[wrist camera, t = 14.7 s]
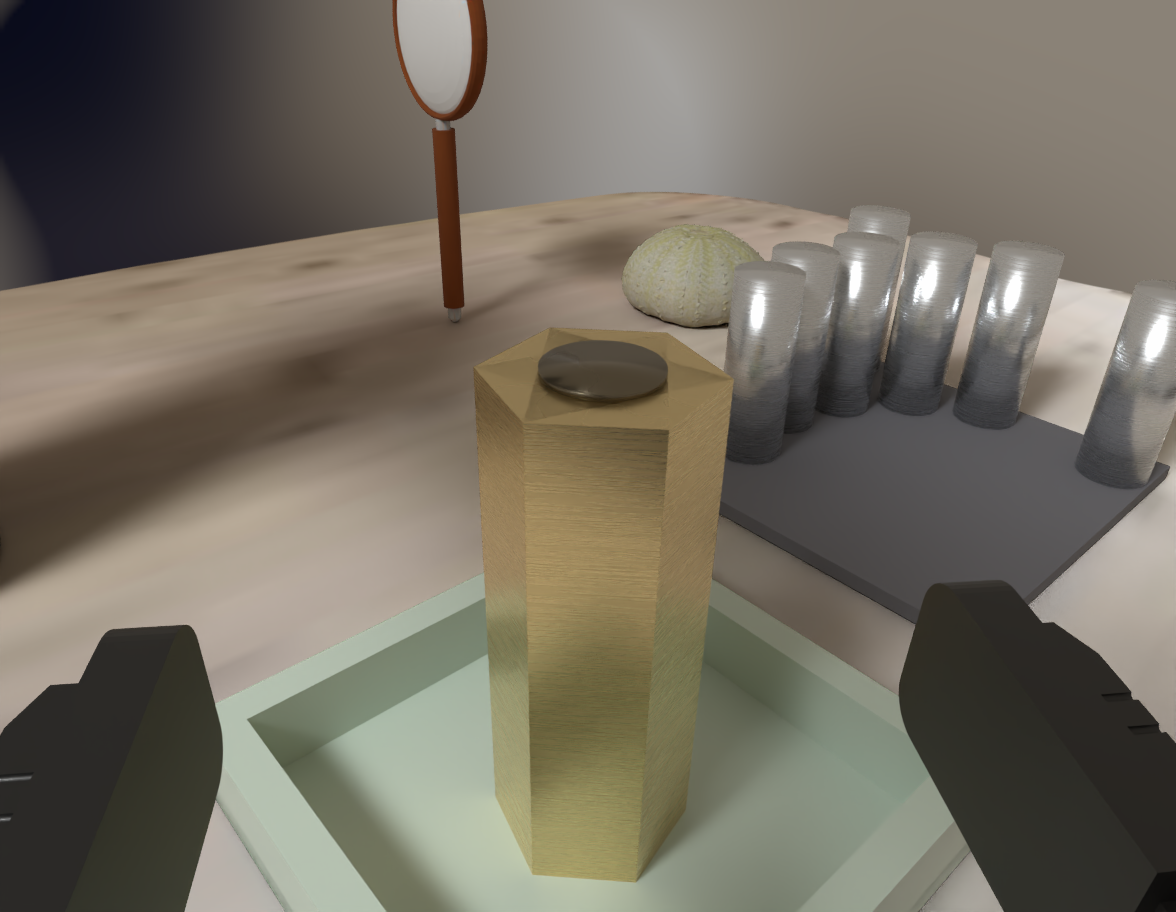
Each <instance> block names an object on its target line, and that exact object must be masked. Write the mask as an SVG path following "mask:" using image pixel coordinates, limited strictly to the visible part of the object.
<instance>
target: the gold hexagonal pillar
mask: <svg viewBox="0 0 1176 912" xmlns="http://www.w3.org/2000/svg"><path fill="white" fill-rule="evenodd" d="M733 383H734V379H733V378H732V377H730V376H729V375H727V374H726V373H725V372H723V371H722V370H720V369H719V368H717V367H716V366H714V365H713V364H712V363H710V362H709V361H707V360H706V359H704V358H703V357H701V356H700V355H699V354H697V353H696V352H694V351H693V350H691V349H690V348H688V347H687V346H686V345H684V344H683V343H681V342H680V341H678V340H677V339H676V338H674V337H673V336H671V335H670V334H668V333H661V332H638V331H615V330H592V329H570V328H548V329H546V330H544V331H542V332H540V333H538V334H537V335H535V336H533V337H531V338H529V339H527V340H525V341H523V342H521V343H519V344H517V345H515V346H513V347H511V348H509V349H507V350H505V351H504V352H502V353H500V354H498V355H496V356H494V357H492V358H490V359H488V360H486V361H484V362H482V363H480V364H478V365H476V366H474V387H475V406H476V426H477V445H478V465H479V485H480V504H481V524H482V543H483V563H484V583H485V602H486V622H487V641H488V661H489V681H490V700H491V720H492V739H493V759H494V779H495V797H496V799H497V801H498V803H499V805H500V807H501V809H502V812H503V814H504V816H505V818H506V820H507V822H508V824H509V826H510V829H511V831H512V833H513V835H514V837H515V839H516V841H517V843H518V845H519V848H520V850H521V852H522V854H523V856H524V858H525V860H526V862H527V864H528V867H529V869H530V871H531V873H532V875H541V876H554V877H568V878H581V879H594V880H608V881H621V882H634V883H636V882H637V880H638V879H639V877H640V876H641V874H642V873H643V872H644V870H645V869H646V867H647V866H648V864H649V863H650V861H651V860H652V858H653V857H654V856H655V854H656V853H657V851H658V850H659V848H660V847H661V845H662V844H663V842H664V841H665V840H666V838H667V837H668V835H669V834H670V832H671V831H672V829H673V828H674V826H675V825H676V824H677V822H678V821H679V819H680V818H681V816H682V815H683V813H684V812H685V810H686V803H687V794H688V785H689V776H690V767H691V759H692V750H693V741H694V732H695V723H696V714H697V705H698V696H699V687H700V678H701V669H702V660H703V651H704V642H705V633H706V624H707V616H708V607H709V598H710V589H711V580H712V571H713V562H714V553H715V544H716V535H717V526H718V517H719V508H720V499H721V490H722V481H723V473H724V464H725V455H726V446H727V437H728V428H729V419H730V410H731V401H732V392H733Z"/></svg>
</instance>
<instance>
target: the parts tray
mask: <svg viewBox="0 0 1176 912" xmlns="http://www.w3.org/2000/svg"><path fill="white" fill-rule="evenodd" d="M215 706H216V710H217V713H218V717H219V721H220V725H221V730H222V738H223V764H222V773H221V780H220V785H219V789H218V793H217V796H216V801H217V803H218V804H219V806H220V807H221V809H222V811H223V812H224V814H225V815H226V817H227V819H228V820H229V822H230V823H231V825H232V827H233V828H234V830H235V831H236V833H237V835H238V836H239V838H240V839H241V841H242V843H243V844H244V846H245V847H246V849H247V851H248V852H249V854H250V856H251V857H252V859H253V860H254V862H255V864H256V865H257V867H258V868H259V870H260V872H261V873H262V875H263V876H264V878H265V880H266V881H267V883H268V884H269V886H270V888H271V889H272V891H273V892H274V894H275V896H276V897H277V899H278V900H279V902H280V904H281V905H282V907H283V908H284V910H285V912H919V910H920V909H921V908H922V907H923V906H924V905H925V903H926V902H927V901H928V900H929V899H930V897H931V896H932V895H933V894H934V893H935V892H936V890H937V889H938V888H939V887H940V886H941V885H942V883H943V882H944V881H945V880H946V879H947V877H948V876H949V875H950V874H951V873H952V872H953V870H954V869H955V868H956V867H957V866H958V865H959V863H960V862H961V861H962V860H963V859H964V858H965V856H966V855H967V854H968V853H969V852H970V848H969V846H968V844H967V843H966V841H965V839H964V837H963V835H962V833H961V832H960V830H959V828H958V826H957V824H956V822H955V821H954V819H953V817H952V815H951V813H950V811H949V809H948V808H947V806H946V804H945V802H944V800H943V798H942V797H941V795H940V793H939V791H938V789H937V787H936V786H935V784H934V782H933V780H932V778H931V776H930V775H929V773H928V771H927V769H926V767H925V765H924V764H923V762H922V760H921V758H920V756H919V754H918V752H917V751H916V749H915V747H914V745H913V743H912V741H911V740H910V738H909V736H908V734H907V731H906V729H905V726H904V723H903V720H902V715H901V711H900V704H899V696H898V695H896V694H895V693H893V692H891V691H890V690H888V689H887V688H885V687H883V686H882V685H880V684H879V683H877V682H876V681H874V680H872V679H871V678H869V677H868V676H866V675H864V674H863V673H861V672H860V671H858V670H856V669H855V668H853V667H852V666H850V665H849V664H847V663H845V662H844V661H842V660H841V659H839V658H837V657H836V656H834V655H833V654H831V653H829V652H828V651H826V650H825V649H823V648H822V647H820V646H818V645H817V644H815V643H814V642H812V641H810V640H809V639H807V638H806V637H804V636H803V635H801V634H799V633H798V632H796V631H795V630H793V629H791V628H790V627H788V626H787V625H785V624H783V623H782V622H780V621H779V620H777V619H776V618H774V617H772V616H771V615H769V614H768V613H766V612H764V611H763V610H761V609H760V608H758V607H756V606H755V605H753V604H752V603H750V602H749V601H747V600H745V599H744V598H742V597H741V596H739V595H737V594H736V593H734V592H733V591H731V590H729V589H728V588H726V587H725V586H723V585H722V584H720V583H718V582H717V581H715V580H714V579H712V580H711V589H710V598H709V607H708V616H707V624H706V633H705V642H704V651H703V660H702V669H701V678H700V687H699V696H698V705H697V714H696V723H695V732H694V741H693V750H692V759H691V767H690V776H689V785H688V794H687V803H686V810H685V812H684V813H683V815H682V816H681V818H680V819H679V821H678V822H677V824H676V825H675V826H674V828H673V829H672V831H671V832H670V834H669V835H668V837H667V838H666V840H665V841H664V842H663V844H662V845H661V847H660V848H659V850H658V851H657V853H656V854H655V856H654V857H653V858H652V860H651V861H650V863H649V864H648V866H647V867H646V869H645V870H644V872H643V873H642V874H641V876H640V877H639V879H638V880H637V882H636V883H634V882H621V881H608V880H594V879H581V878H568V877H554V876H541V875H532V873H531V871H530V869H529V867H528V864H527V862H526V860H525V858H524V856H523V854H522V852H521V850H520V848H519V845H518V843H517V841H516V839H515V837H514V835H513V833H512V831H511V829H510V826H509V824H508V822H507V820H506V818H505V816H504V814H503V812H502V809H501V807H500V805H499V803H498V801H497V799H496V797H495V779H494V759H493V739H492V720H491V700H490V681H489V661H488V641H487V622H486V602H485V583H484V572H483V573H481V574H479V575H477V576H475V577H473V578H471V579H469V580H467V581H465V582H463V583H461V584H459V585H457V586H455V587H453V588H451V589H449V590H447V591H445V592H443V593H441V594H439V595H437V596H434V597H432V598H430V599H428V600H426V601H424V602H422V603H420V604H418V605H416V606H414V607H412V608H410V609H408V610H406V611H404V612H402V613H400V614H398V615H396V616H394V617H392V618H390V619H388V620H385V621H383V622H381V623H379V624H377V625H375V626H373V627H371V628H369V629H367V630H365V631H363V632H361V633H359V634H357V635H355V636H353V637H351V638H349V639H347V640H345V641H343V642H341V643H339V644H336V645H334V646H332V647H330V648H328V649H326V650H324V651H322V652H320V653H318V654H316V655H314V656H312V657H310V658H308V659H306V660H304V661H302V662H300V663H298V664H296V665H294V666H292V667H290V668H287V669H285V670H283V671H281V672H279V673H277V674H275V675H273V676H271V677H269V678H267V679H265V680H263V681H261V682H259V683H257V684H255V685H253V686H251V687H249V688H247V689H245V690H243V691H241V692H238V693H236V694H234V695H232V696H230V697H228V698H226V699H224V700H222V701H220V702H218V703H216V704H215Z"/></svg>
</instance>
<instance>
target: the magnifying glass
mask: <svg viewBox="0 0 1176 912" xmlns="http://www.w3.org/2000/svg"><path fill="white" fill-rule="evenodd" d="M393 27H394V35H395V42H396V48H397V52H398V57H399V60H400V64H401V68H402V71H403V74H404V77H405V79H406V82H407V84H408V86H409V88H410V90H411V92H412V94H413V96H414V98H415V99H416V101H417V102H418V104H419V105H420V107H421V108H422V109H423V110H424V111H425V112H426V113H427V114H429V115H430V116H431V117H433V118H436V128H433V129H432V133H433V146H434V147H433V148H434V162H435V178H436V193H437V208H438V223H439V238H440V253H441V268H442V283H443V298H444V307H446V308H448V316H449V319H451V320H452V321H453V322H457V321H458V320H459V319H460V318H461V308H462V307H464V290H463V272H462V253H461V235H460V217H459V200H458V199H459V198H458V180H457V163H456V144H455V129H454V128H451V127H450V121H454V120H457V119H459V118H462V117H463V116H464V115H465V114H467V113H468V112H469V111H470V110H471V109H472V108H473V106H474V104H475V103H476V101H477V99H478V97H479V94H480V92H481V88H482V85H483V81H484V76H485V70H486V62H487V26H486V17H485V10H484V5H483V0H393Z"/></svg>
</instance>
